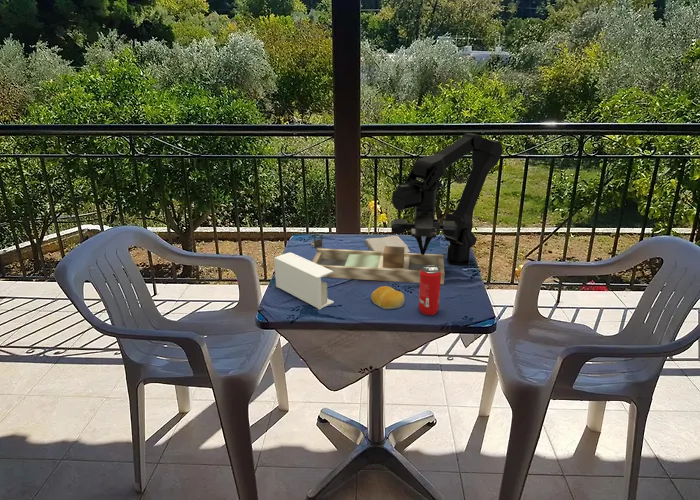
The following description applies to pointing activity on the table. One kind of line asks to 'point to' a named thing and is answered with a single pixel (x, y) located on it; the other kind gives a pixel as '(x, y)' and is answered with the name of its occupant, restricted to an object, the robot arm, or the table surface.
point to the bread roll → (387, 298)
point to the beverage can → (429, 289)
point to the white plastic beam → (302, 279)
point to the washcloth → (385, 243)
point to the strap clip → (317, 243)
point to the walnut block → (393, 257)
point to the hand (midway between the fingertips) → (422, 254)
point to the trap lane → (375, 265)
